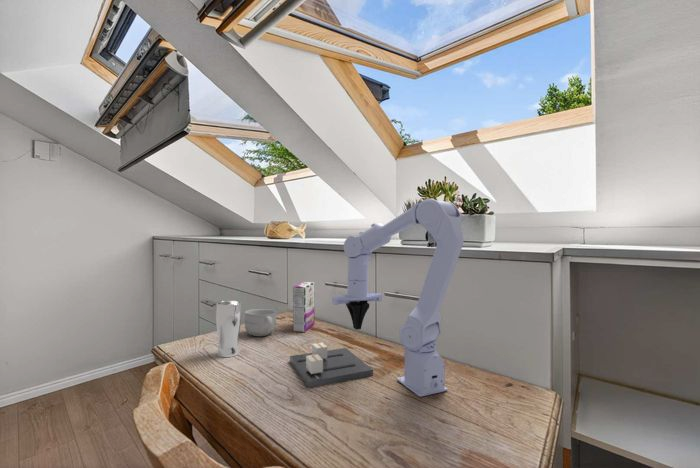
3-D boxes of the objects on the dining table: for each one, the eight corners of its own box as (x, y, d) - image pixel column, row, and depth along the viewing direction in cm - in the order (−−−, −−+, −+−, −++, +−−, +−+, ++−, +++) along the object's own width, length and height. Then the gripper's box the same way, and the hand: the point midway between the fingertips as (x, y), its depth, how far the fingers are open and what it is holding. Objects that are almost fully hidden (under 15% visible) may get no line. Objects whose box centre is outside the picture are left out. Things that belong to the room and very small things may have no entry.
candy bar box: (302, 323, 131) (303, 281, 131) (314, 324, 130) (315, 282, 130) (291, 331, 120) (292, 286, 120) (305, 332, 119) (305, 286, 119)
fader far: (327, 357, 91) (327, 346, 91) (316, 359, 90) (316, 348, 90) (322, 353, 95) (322, 342, 95) (312, 354, 93) (312, 343, 93)
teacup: (242, 331, 120) (242, 309, 120) (273, 328, 125) (273, 306, 125) (248, 343, 107) (248, 318, 107) (281, 339, 112) (282, 315, 112)
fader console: (373, 375, 85) (373, 369, 85) (308, 387, 78) (308, 381, 78) (345, 352, 100) (345, 347, 100) (289, 361, 93) (289, 355, 93)
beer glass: (244, 350, 101) (245, 300, 101) (234, 358, 95) (235, 305, 94) (222, 349, 102) (223, 299, 102) (210, 357, 95) (211, 304, 95)
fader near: (322, 372, 82) (322, 359, 82) (311, 374, 81) (311, 361, 81) (317, 365, 86) (317, 353, 85) (306, 367, 84) (306, 355, 84)
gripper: (373, 276, 100) (373, 322, 100) (328, 278, 94) (327, 327, 94) (386, 279, 94) (385, 328, 94) (338, 282, 87) (337, 334, 88)
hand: (357, 328), depth 93 cm, fingers closed
